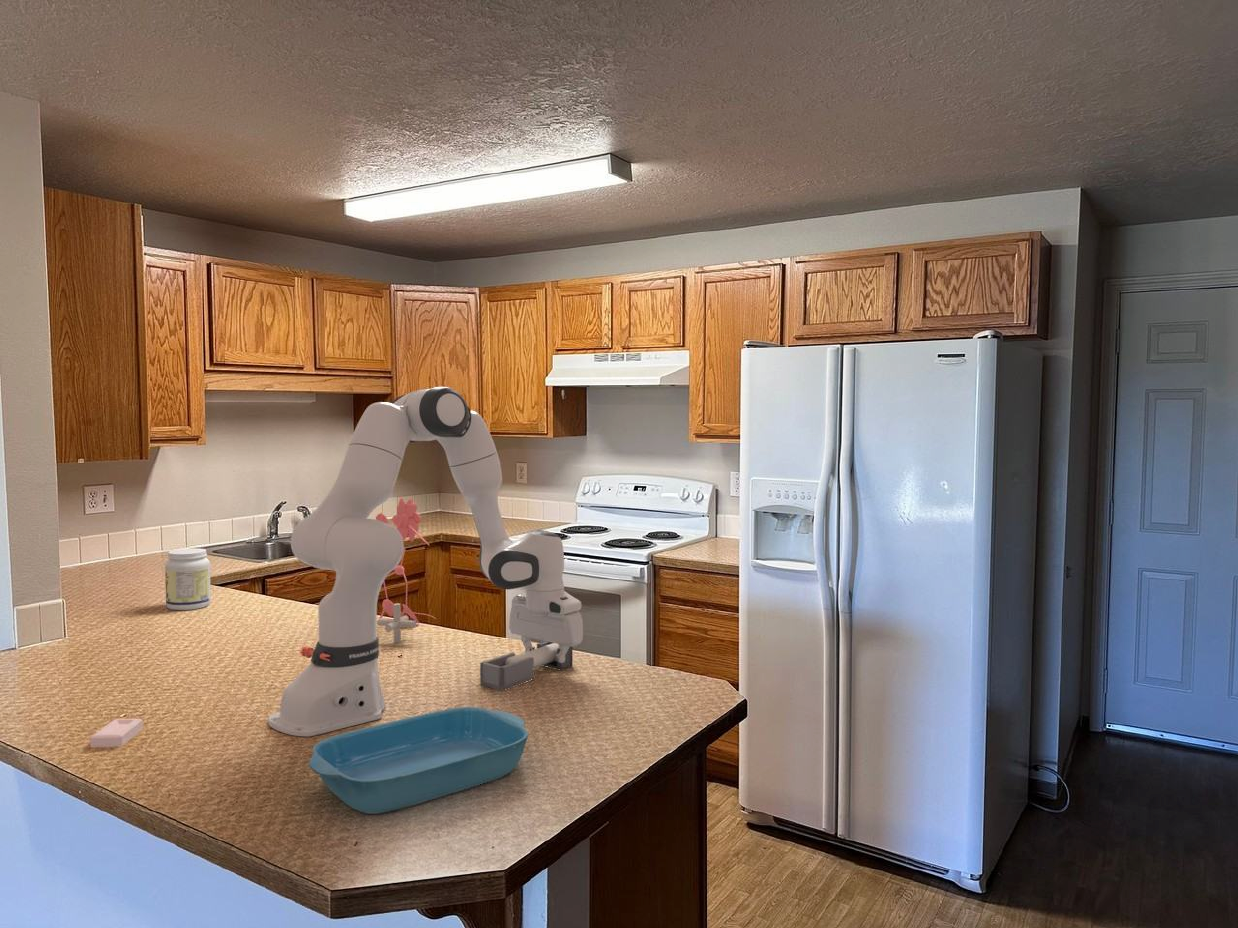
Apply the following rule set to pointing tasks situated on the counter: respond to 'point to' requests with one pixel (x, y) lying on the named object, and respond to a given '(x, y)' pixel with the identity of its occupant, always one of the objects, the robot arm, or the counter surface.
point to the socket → (567, 656)
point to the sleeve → (505, 672)
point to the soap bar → (116, 733)
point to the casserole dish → (419, 757)
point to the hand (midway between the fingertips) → (544, 658)
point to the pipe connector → (397, 623)
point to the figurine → (407, 527)
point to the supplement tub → (187, 579)
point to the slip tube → (537, 655)
